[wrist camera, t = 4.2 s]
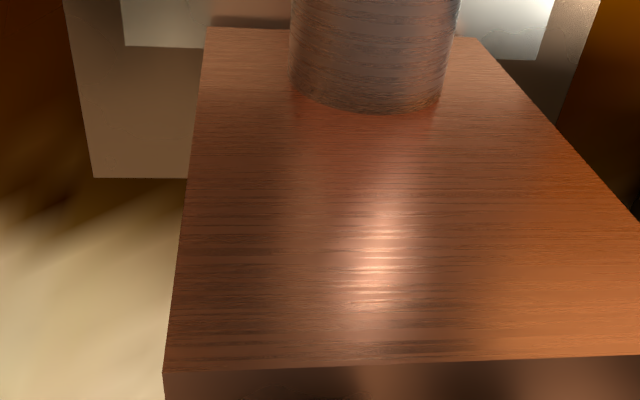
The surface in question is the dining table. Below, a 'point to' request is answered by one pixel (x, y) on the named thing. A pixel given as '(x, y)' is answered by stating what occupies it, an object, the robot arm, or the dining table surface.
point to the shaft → (391, 224)
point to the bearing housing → (263, 13)
